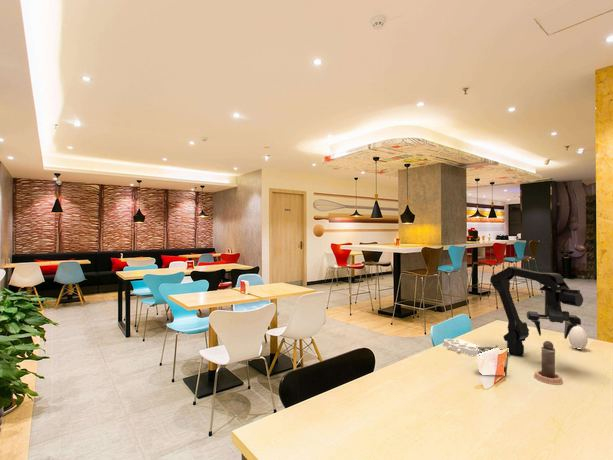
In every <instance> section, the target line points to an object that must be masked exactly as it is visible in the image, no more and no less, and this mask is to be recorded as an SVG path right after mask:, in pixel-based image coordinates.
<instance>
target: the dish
mask: <svg viewBox="0 0 613 460" xmlns="http://www.w3.org/2000/svg"><path fill="white" fill-rule="evenodd" d="M533 378H534V379H536V380H537V381H539V382H541V383H545V384H549V385H554V386H555V385H558V386H559V384H560V385H563V384H564V380H563V377H562V376H561V375H560V374H559V373H556V372H555V378H547V377H544V376H541V369H540V370H539V369H537V370H535V371H534V374H533Z"/></svg>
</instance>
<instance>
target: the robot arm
mask: <svg viewBox="0 0 613 460" xmlns="http://www.w3.org/2000/svg"><path fill="white" fill-rule="evenodd" d="M514 277H520V278H523V279H528V280H531V281H536V282H538V284H541V285H543V286H541V287H540V288H539V291H544V314H541V313H538V311H532V310H528V311H527V312H526V318H527V319H528V320H529V321H531V322H532V323H534V325H535V327H536V330H537V333H538V335H539V336H538V337H541V335H542V333H541V322H540V320H541V319H542V320H549V322H551V323H559V324H563V323H564V332H563V333H564V334H563V335H564V337H563V338H564V339H565V340H567V338H568V337H569V333H570V331H571V329H572V328H573V327H575V326H580V325H582V319H581V318H580V317H578V316H577V315H573V314H572V315H571V314H570V312H569V311H568V310H567V311H566V310H562V304H563V305H569V306H573V307H582V305H583V303H584V297H583V294H582V293H581V290H580V289H571V288H570V287H569V286H568V284H567V282H565V281H564V277H563V276H562V274H560V273H558V272H557V273H556V272H540V271H535V270H530V269H526V268H520V267H517V266H515V265H513V266H507V267H506V268H505V269H503V270H500V271H499V272H497V273H496V274H495V273H494V274H492V275H491V276H490V278H489V281H490V282H491V286H492V287H493V289H494V290H496V291H497V292H498V295H499V298H500V300H501V301H500V302H501V303H502V307H503V309H504V312H505V315H506V317H507V321H508V324H507V333H506V334H504V335H503V340H504V341H505V342H506V349H507V348H509V354H510V356H517V357H524V354H525V346H524V344H523V343H524V342H525V341H526V339H527V338H528V337H529V334H530V329H529V328H528V324H527V322H523V321H522V320H521V319H520V316H519V314H518V313H519V312H518V311H517V308H516V305H515V303H514V299H513V297H512V294H511V291H510V287H511V282H510V281H511V280H513V278H514Z"/></svg>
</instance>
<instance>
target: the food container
mask: <svg viewBox="0 0 613 460" xmlns="http://www.w3.org/2000/svg"><path fill="white" fill-rule="evenodd" d="M493 348H495V347H492V346H481V348H480V349H479V351H478V354H479V353H482V352H485V351H488V350H491V349H493ZM499 349H500V350H504V348H503V349H502V348H499ZM509 358H511V355H510V354H509V352H507V358H506V364H505V366H504V372H505V376H504V377H507V374H508V373H507V372H508V363H509Z"/></svg>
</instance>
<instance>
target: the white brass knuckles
mask: <svg viewBox="0 0 613 460" xmlns="http://www.w3.org/2000/svg"><path fill="white" fill-rule="evenodd" d="M445 346H446V347H445ZM443 347H445V348H447V347H448V349H449V350H450V349H451V350H450V351H452V350H454V351H453V352H455V351H456V353H457V352H459V353H458V354H461V353H465V354H464V355H466V354H468V355H473V356H472V357H477V356H476V355H477V354H478V349H480V348H481V347H482V345H479V344H475V343H472V342H471V341H467V340H463V339H461V338H458V339H453V338H444V339H443ZM468 355H467V356H468Z"/></svg>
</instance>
